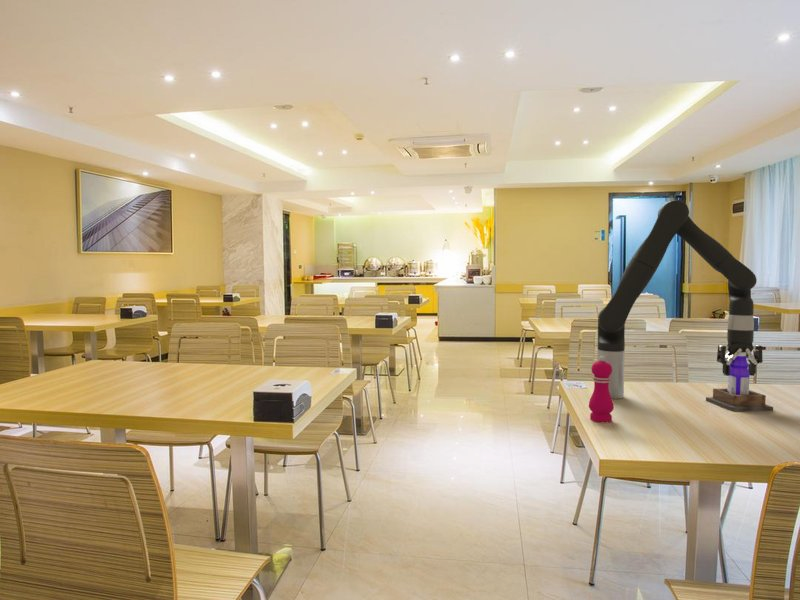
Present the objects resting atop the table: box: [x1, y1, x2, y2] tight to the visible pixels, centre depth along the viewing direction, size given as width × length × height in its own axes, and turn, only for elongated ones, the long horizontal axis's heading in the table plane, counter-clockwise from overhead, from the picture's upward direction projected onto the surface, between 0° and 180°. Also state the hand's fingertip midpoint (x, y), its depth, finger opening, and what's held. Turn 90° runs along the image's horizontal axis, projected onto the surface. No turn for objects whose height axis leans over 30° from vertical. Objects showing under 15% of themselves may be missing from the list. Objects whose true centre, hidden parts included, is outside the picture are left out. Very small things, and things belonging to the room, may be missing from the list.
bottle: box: [727, 352, 751, 395], centre depth 180 cm, size 7×6×17 cm
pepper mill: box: [588, 356, 615, 424], centre depth 163 cm, size 7×7×20 cm
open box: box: [705, 387, 774, 412], centre depth 181 cm, size 14×14×5 cm
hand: (739, 375), depth 180 cm, fingers open, 8 cm apart
